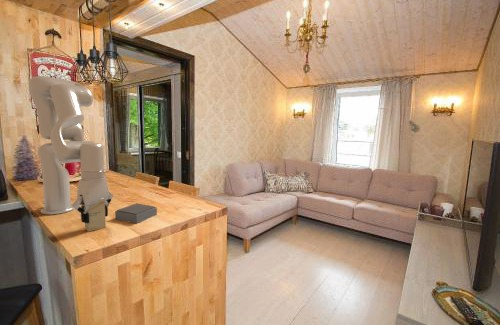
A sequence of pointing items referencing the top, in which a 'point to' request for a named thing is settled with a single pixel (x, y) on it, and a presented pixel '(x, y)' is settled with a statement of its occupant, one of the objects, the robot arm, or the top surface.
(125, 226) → the top surface
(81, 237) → the top surface
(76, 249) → the top surface
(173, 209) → the top surface
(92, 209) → the skincare box
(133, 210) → the stand
